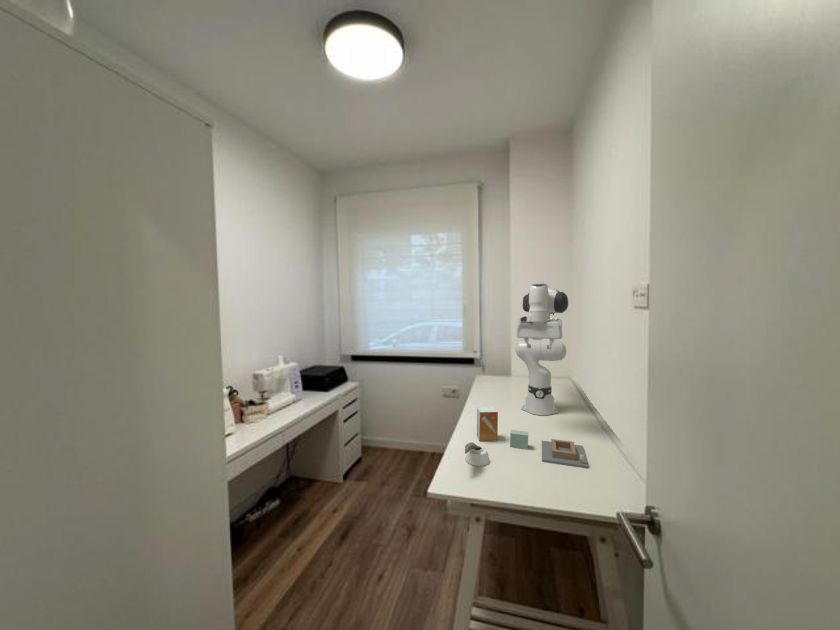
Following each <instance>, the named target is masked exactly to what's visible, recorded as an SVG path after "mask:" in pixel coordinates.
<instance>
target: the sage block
mask: <svg viewBox="0 0 840 630" xmlns="http://www.w3.org/2000/svg"><path fill="white" fill-rule="evenodd" d="M509 442H510V443H509V447H510V448H514V449H519V450H520V449H521V450H528V449H529V431H524V430H516V429H510V436H509Z"/></svg>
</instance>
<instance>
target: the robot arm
mask: <svg viewBox="0 0 840 630" xmlns="http://www.w3.org/2000/svg"><path fill="white" fill-rule="evenodd" d="M521 308H522V309H523V311H524V312H526V313H528V314H527V315H524V316H520V317H519V318H518V324H517V326H516V337H517V339H520V340H518V342H517V343H516V345H515V354H516V356H517V357H518V358H519V359H520V360H521V361H522V362H524V364H525V365H526V368H527V370H528V381H529V383H528V386H527V391H528V392H527V393H526V394H525V395H524V400H525V401H524V404H523V405H522V406H521V408H520V409H521V410H522V411H525V412H527V413H528V414H532V415H537V416H549V415H550V416H551V415H553V414H559V411H558V409H557V408H556V407H555V397H554V396H553V395H552V393H553V392H552V385H551V381H552V373H551V371H550V370H549V369H548V368H547V367H546V366H543V365H542V364H540V363H539V361H546V362H547V361H548V362H556V361H562V360H563V359H565V357H566V355H567V346H566V345H565V344H564V343H563V342H562V341H560V340H561V339H562V338H563V329H562V327H563V320H561V319H560V318H557V317H556V318H551V315H552V316H555V314H563V313H564V312H566V311H567V310H568V308H569V298H568V295H567V294H566V293H565V292H563V291H560V290H557V289H555V288H552V287H551V286H549V285H548V284H547V283H545V282H537V283H534V284H531V285H530V287H529V292H528V293H527V294H525V295H524V296H523V297H522V299H521Z"/></svg>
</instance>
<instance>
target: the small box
mask: <svg viewBox="0 0 840 630" xmlns="http://www.w3.org/2000/svg"><path fill="white" fill-rule="evenodd" d="M498 419H499V411H498V410H497V409H496V408H495V407H493V406H492V407H487V406H485V407H476V437H477V439H478V440H479V442H484V441H487V442H488V441H489V442H490V441H491V442H493V441H496V442H497V441H498V432H499V431H498V429H499V427H498V425H499V423H498V422H499V421H498Z"/></svg>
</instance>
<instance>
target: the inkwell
mask: <svg viewBox="0 0 840 630" xmlns="http://www.w3.org/2000/svg"><path fill="white" fill-rule="evenodd" d="M464 454H465V461H466V463H467V464H469V465H471V466H474V465H475V466H474V467H482V466H484V467H485V466H487V465H488V464H490V457H489V453H488V450H487V448H485V447H483V446H482V445H480V444H479V445H478V444H476V443H474V442H468V443H467V444H466V445H465V446H464Z"/></svg>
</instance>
